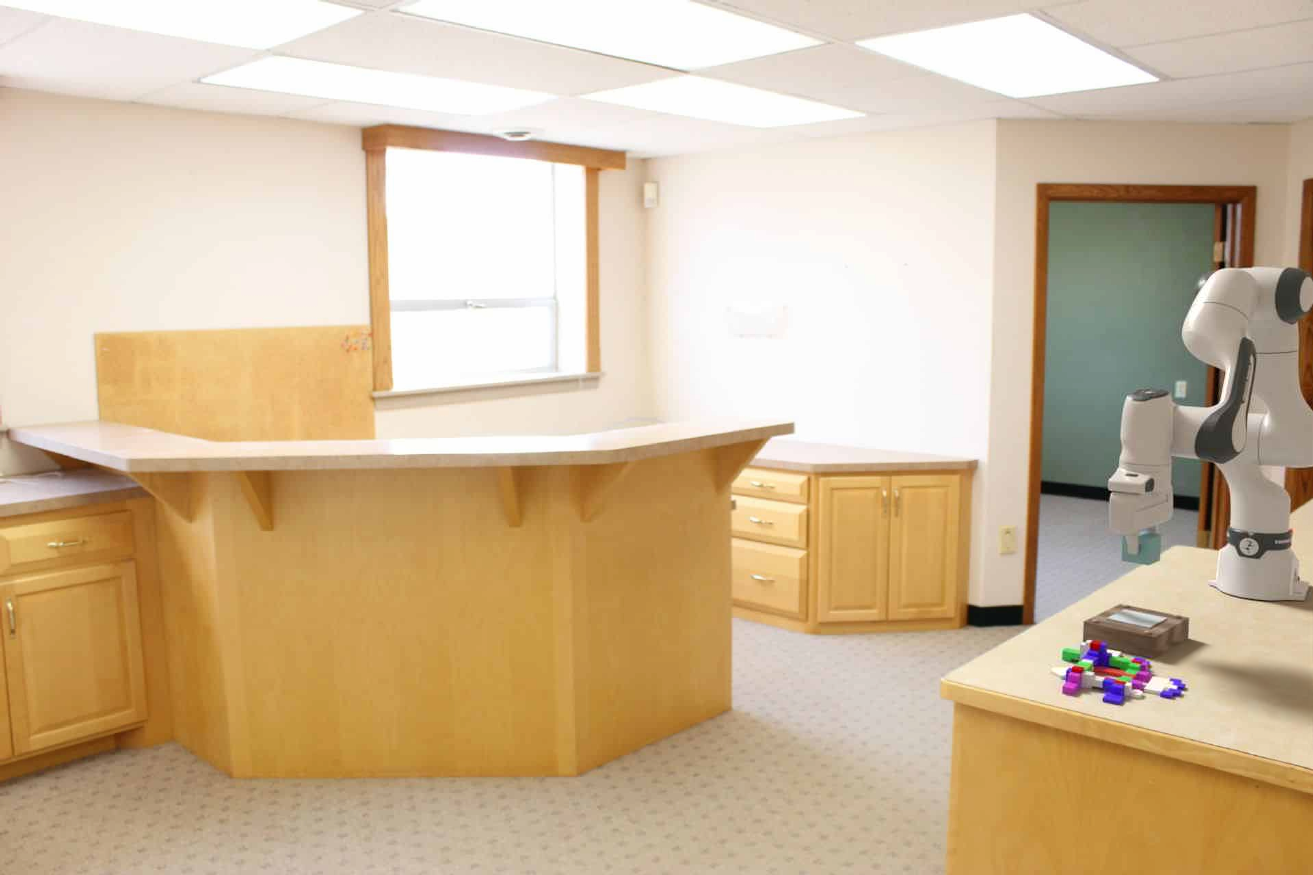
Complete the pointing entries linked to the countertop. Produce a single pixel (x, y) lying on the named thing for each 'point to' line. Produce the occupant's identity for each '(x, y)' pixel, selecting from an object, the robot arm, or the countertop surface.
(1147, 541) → the teal block
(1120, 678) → the building block set
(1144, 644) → the plinth
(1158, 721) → the countertop surface
